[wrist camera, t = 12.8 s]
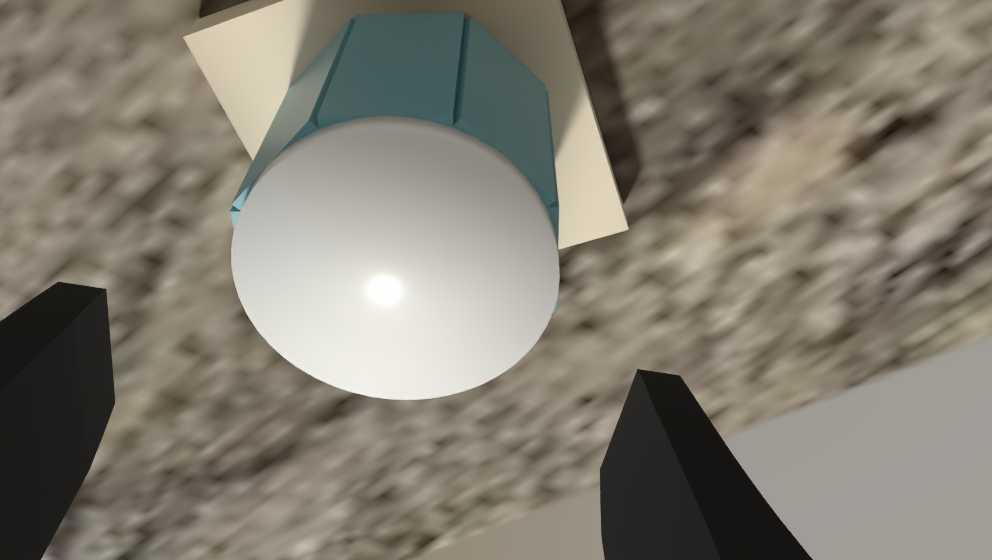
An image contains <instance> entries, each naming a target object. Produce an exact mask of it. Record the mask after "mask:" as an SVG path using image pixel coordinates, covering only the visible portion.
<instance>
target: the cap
mask: <svg viewBox="0 0 992 560" xmlns="http://www.w3.org/2000/svg"><path fill="white" fill-rule="evenodd" d="M232 205H233V206H232V208H231V210H230V214H231V219H232V223H233V228H234V234H233V240H232V246H231V265H232V272H233V278H234V283H235V286H236V289H237V293H238V296H239V299H240V301H241V303H242V305H243V307H244V309H245V311H246V313H247V315H248V317H249V318H250V320H251V321H252V323H253V324H254V326H255V327H256V329H257V330H258V332H259V333H260V334H261V335H262V336H263V337H264V339H265V340H266V341H267V342H268V343H269V344H270V345H271V346H272V347H273V348H274V349H275V350H276V351H277V352H278V353H279V354H281V355H282V356H283V357H284V358H285V359H287V360H288V361H289V362H291V363H292V364H294V365H295V366H296V367H298V368H299V369H301V370H303V371H304V372H306V373H308V374H309V375H311V376H313V377H315V378H317V379H319V380H321V381H323V382H325V383H328V384H330V385H332V386H335V387H338V388H341V389H344V390H347V391H350V392H353V393H357V394H362V395H366V396H370V397H378V398H385V399H399V400H415V399H430V398H436V397H442V396H448V395H452V394H455V393H459V392H463V391H466V390H469V389H471V388H474V387H476V386H479V385H482V384H484V383H486V382H487V381H489V380H491V379H493V378H495V377H497V376H499V375H500V374H502V373H503V372H505V371H506V370H508V369H509V368H511V367H512V366H513V365H514V364H516V363H517V362H518V361H519V360H520V359H521V358H522V357H523V356H525V355H526V354H527V352H528V351H529V350H530V349H531V348H532V347H533V346H534V344H535V343H536V342H537V341H538V339H539V338H540V336H541V334H542V333H543V331H544V330H545V328H546V327H547V324H548V322H549V320H550V318H551V317H552V316H553V311H554V309H557V296H558V288H559V278H560V276H559V259H558V239H559V199H558V189H557V179H556V169H555V159H554V148H553V138H552V128H551V118H550V108H549V98H548V91H546V88H545V84H544V83H543V82H542V81H540V80H539V79H538V78H537V77H536V76H535V75H534V74H533V73H532V72H531V71H530V70H529V69H528V68H527V67H526V66H525V65H523V64H522V63H521V62H520V61H519V60H518V59H517V58H516V57H515V56H514V55H513V54H512V53H511V52H510V51H509V50H507V49H506V48H505V47H504V46H503V45H502V44H501V43H500V42H499V41H498V40H497V39H496V38H495V37H494V36H493V35H491V34H490V33H489V32H488V31H487V30H486V29H485V28H484V27H483V26H482V25H481V24H480V23H479V22H478V21H477V20H475V19H474V18H473V17H472V16H470V17H469V18H468V19H467V20H466V21H465V22H464V13H415V14H358V16H357V18H356V21H355V20H354V19H353V18H352V17H351V18H350V20H349V21H348V22H347V23H346V24H345V25H344V26H343V28H342V29H341V30H340V31H339V32H338V33H337V34H336V36H335V37H334V38H333V39H332V40H331V41H330V42H329V43H328V45H327V46H326V47H325V48H324V49H323V50H322V51H321V53H320V54H319V55H318V56H317V57H316V58H315V59H314V61H313V62H312V63H311V64H310V65H309V66H308V67H307V68H306V70H305V71H304V72H303V73H302V74H301V75H300V76H299V78H298V79H297V80H296V81H295V82H294V83H293V84H292V86H291V87H290V88H289V89H288V91H287V93H286V95H285V97H284V99H283V101H282V103H281V105H280V107H279V109H278V111H277V113H276V115H275V117H274V119H273V121H272V123H271V126H270V128H269V130H268V132H267V134H266V136H265V138H264V140H263V142H262V144H261V146H260V148H259V150H258V152H257V154H256V156H255V158H254V160H253V162H252V164H251V166H250V168H249V170H248V172H247V174H246V176H245V178H244V180H243V182H242V184H241V186H240V188H239V190H238V193H237V195H236V197H235V199H234V201H233V203H232Z"/></svg>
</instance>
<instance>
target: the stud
mask: <svg viewBox="0 0 992 560" xmlns="http://www.w3.org/2000/svg"><path fill="white" fill-rule="evenodd" d="M415 13H464V22H465V21H466V20H467V19H468V18H469V17H470V16H472V17H473V18H474V19H475V20H477V21H478V22H479V23H480V24H481V25H482V26H483V27H484V28H485V29H486V30H487V31H488V32H489V33H490V34H491V35H493V36H494V37H495V38H496V39H497V40H498V41H499V42H500V43H501V44H502V45H503V46H504V47H505V48H506V49H507V50H509V51H510V52H511V53H512V54H513V55H514V56H515V57H516V58H517V59H518V60H519V61H520V62H521V63H522V64H523V65H525V66H526V67H527V68H528V69H529V70H530V71H531V72H532V73H533V74H534V75H535V76H536V77H537V78H538V79H539V80H540V81H542V82H543V83H544V84H545V88H546V91H548V98H549V108H550V118H551V128H552V138H553V148H554V159H555V169H556V179H557V189H558V199H559V239H558V249H562V248H565V247H569V246H572V245H576V244H579V243H583V242H586V241H590V240H594V239H597V238H601V237H604V236H608V235H611V234H615V233H618V232H622V231H625V230H629V229H628V224H627V219H626V215H625V210H624V206H623V202H622V199H621V196H620V193H619V189H618V186H617V183H616V180H615V176H614V173H613V170H612V166H611V163H610V160H609V157H608V153H607V150H606V147H605V144H604V140H603V137H602V134H601V131H600V127H599V124H598V121H597V117H596V114H595V111H594V108H593V104H592V101H591V98H590V95H589V91H588V88H587V85H586V82H585V78H584V75H583V72H582V69H581V65H580V62H579V59H578V55H577V52H576V49H575V46H574V42H573V39H572V36H571V33H570V29H569V26H568V23H567V20H566V16H565V13H564V10H563V6H562V3H561V0H249V1H246V2H244V3H241V4H238V5H235V6H233V7H230V8H227V9H224V10H222V11H219V12H216V13H213V14H211V15H208V16H205V17H203V18H200V19H198V20H197V21H196V22H195V23H194V24H193V26H192V27H191V28H190V29H189V30H188V32H187V33H186V34H185V35H184V36H183V38H184V40H185V41H186V43H187V45H188V47H189V48H190V50H191V52H192V54H193V55H194V57H195V59H196V61H197V63H198V64H199V66H200V68H201V70H202V71H203V73H204V75H205V77H206V78H207V80H208V82H209V84H210V86H211V87H212V89H213V91H214V93H215V94H216V96H217V98H218V100H219V101H220V103H221V105H222V107H223V109H224V110H225V112H226V114H227V116H228V117H229V119H230V121H231V123H232V124H233V126H234V128H235V130H236V132H237V133H238V135H239V137H240V139H241V140H242V142H243V144H244V146H245V147H246V149H247V151H248V153H249V154H250V156H251V158H252V160H254V158H255V156H256V154H257V152H258V150H259V148H260V146H261V144H262V142H263V140H264V138H265V136H266V134H267V132H268V130H269V128H270V126H271V123H272V121H273V119H274V117H275V115H276V113H277V111H278V109H279V107H280V105H281V103H282V101H283V99H284V97H285V95H286V93H287V91H288V89H289V88H290V87H291V86H292V84H293V83H294V82H295V81H296V80H297V79H298V78H299V76H300V75H301V74H302V73H303V72H304V71H305V70H306V68H307V67H308V66H309V65H310V64H311V63H312V62H313V61H314V59H315V58H316V57H317V56H318V55H319V54H320V53H321V51H322V50H323V49H324V48H325V47H326V46H327V45H328V43H329V42H330V41H331V40H332V39H333V38H334V37H335V36H336V34H337V33H338V32H339V31H340V30H341V29H342V28H343V26H344V25H345V24H346V23H347V22H348V21H349V20H350V18H351V17H352V18H353V19H354V20H355V21H356V18H357V16H358V14H415Z"/></svg>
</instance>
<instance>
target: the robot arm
mask: <svg viewBox="0 0 992 560" xmlns="http://www.w3.org/2000/svg"><path fill="white" fill-rule="evenodd" d="M114 404H115V394H114V381H113V368H112V356H111V343H110V331H109V318H108V306H107V293H106V289H103V288H96V287H89V286H83V285H76V284H70V283H63V282H57V283H56V284H54V285H53V286H51V287H50V288H48V289H47V290H45V291H44V292H42V293H41V294H39V295H38V296H36V297H35V298H33V299H32V300H30V301H29V302H28V303H26V304H25V305H23V306H22V307H20V308H19V309H17V310H16V311H15V312H13V313H12V314H10V315H9V316H7V317H6V318H4V319H3V320H2V321H0V560H41V558H42V556H43V554H44V553H45V551H46V549H47V547H48V545H49V543H50V542H51V540H52V538H53V536H54V534H55V533H56V531H57V529H58V527H59V525H60V523H61V522H62V520H63V518H64V516H65V514H66V512H67V511H68V509H69V507H70V505H71V503H72V501H73V499H74V498H75V496H76V494H77V492H78V490H79V488H80V487H81V485H82V483H83V481H84V479H85V477H86V475H87V473H88V471H89V469H90V467H91V464H92V462H93V459H94V457H95V454H96V452H97V449H98V447H99V444H100V442H101V439H102V437H103V434H104V431H105V429H106V426H107V423H108V421H109V418H110V415H111V412H112V410H113V407H114ZM600 500H601V501H600V504H601V533H602V543H603V550H604V557H605V560H813V559H812V558H811V557H810V556H809V555H808V554H807V552H806V551H805V550H804V549H803V547H802V546H801V545H800V544H799V542H798V541H797V540H796V539H795V537H794V536H793V535H792V534H791V532H790V531H789V530H788V529H787V528H786V526H785V525H784V524H783V522H782V521H781V520H780V519H779V517H778V516H777V515H776V513H775V512H774V511H773V509H772V508H771V507H770V506H769V504H768V503H767V502H766V500H765V499H764V498H763V496H762V495H761V493H760V492H759V491H758V490H757V488H756V487H755V485H754V484H753V483H752V481H751V480H750V478H749V477H748V476H747V474H746V473H745V471H744V470H743V469H742V467H741V466H740V464H739V463H738V461H737V460H736V459H735V457H734V456H733V454H732V453H731V451H730V450H729V448H728V447H727V446H726V444H725V442H724V441H723V439H722V438H721V436H720V435H719V433H718V432H717V431H716V429H715V428H714V426H713V425H712V423H711V421H710V420H709V418H708V417H707V415H706V414H705V412H704V411H703V409H702V408H701V406H700V405H699V403H698V402H697V400H696V399H695V397H694V396H693V394H692V393H691V391H690V390H689V388H688V387H687V385H686V384H685V382H684V381H683V380H682V378H681V377H680V376H679V375H673V374H666V373H660V372H653V371H646V370H640V369H637V372H636V375H635V377H634V380H633V383H632V385H631V388H630V391H629V394H628V396H627V399H626V402H625V404H624V407H623V410H622V412H621V415H620V418H619V420H618V423H617V426H616V428H615V431H614V434H613V436H612V439H611V442H610V444H609V447H608V450H607V452H606V455H605V458H604V460H603V463H602V466H601V468H600Z"/></svg>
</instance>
